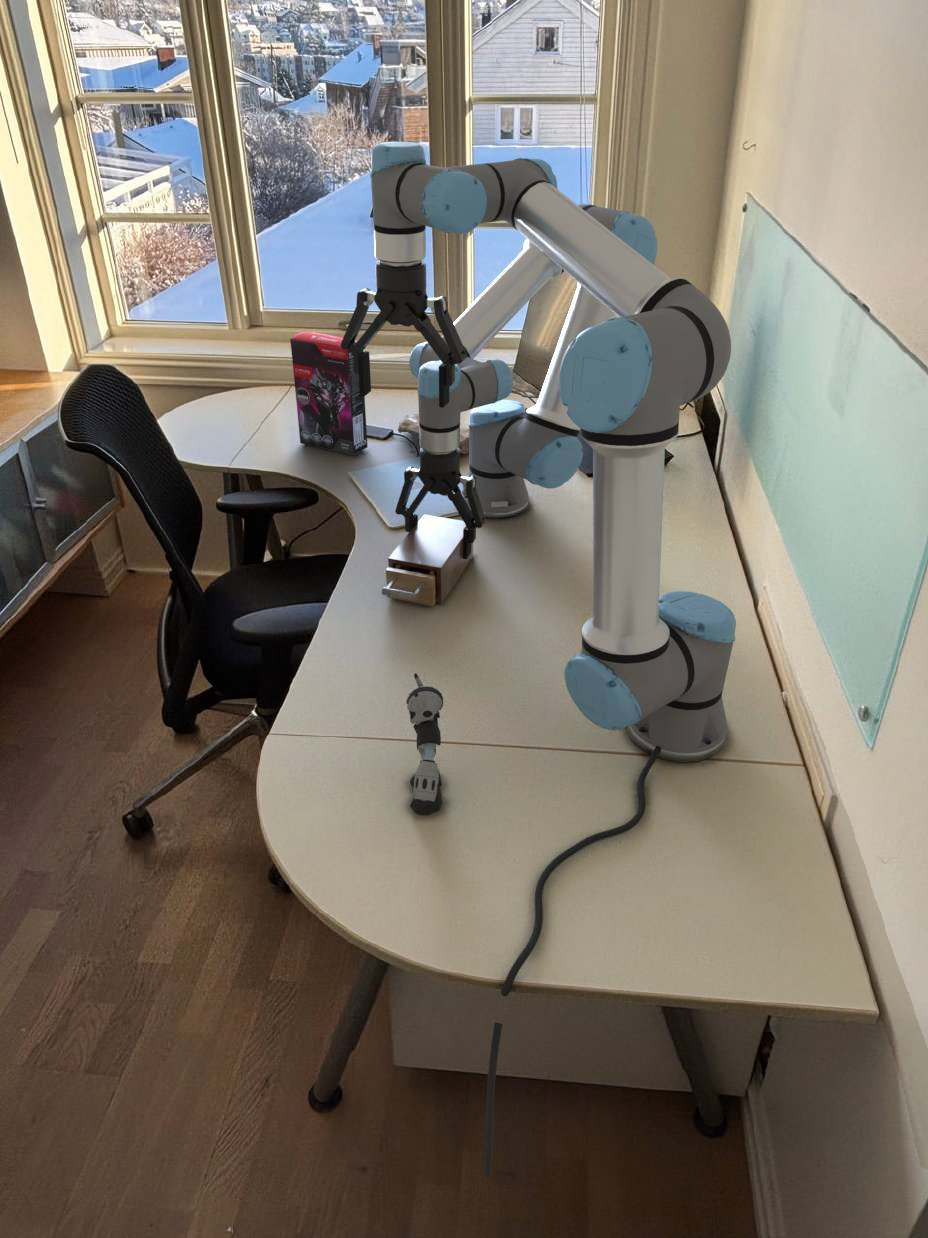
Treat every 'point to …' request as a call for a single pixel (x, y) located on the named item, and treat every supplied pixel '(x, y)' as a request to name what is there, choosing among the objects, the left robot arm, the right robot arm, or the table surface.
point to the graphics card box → (328, 394)
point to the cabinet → (434, 551)
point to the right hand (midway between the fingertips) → (404, 399)
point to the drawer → (411, 584)
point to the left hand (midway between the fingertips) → (440, 551)
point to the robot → (426, 746)
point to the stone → (412, 427)
